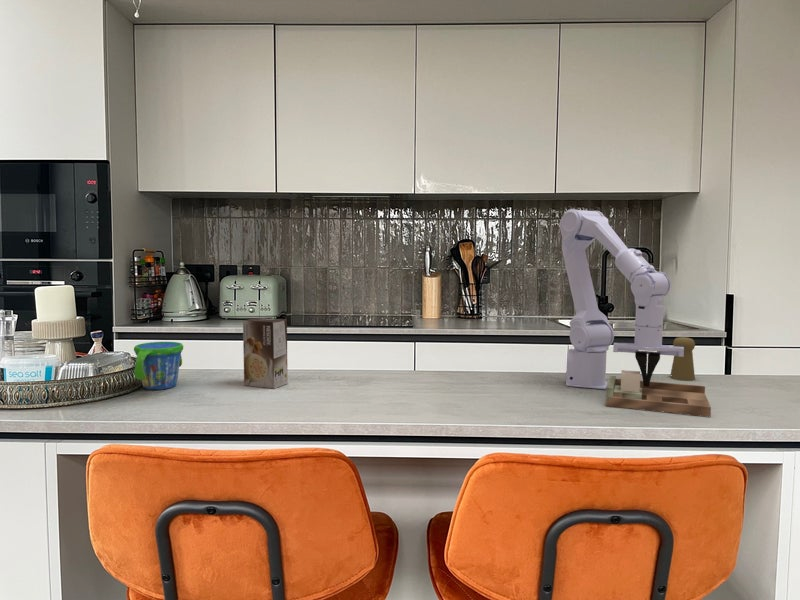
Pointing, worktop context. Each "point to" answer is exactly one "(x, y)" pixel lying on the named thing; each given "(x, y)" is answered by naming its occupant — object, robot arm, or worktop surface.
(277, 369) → the coffee box
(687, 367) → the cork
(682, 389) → the trap deck
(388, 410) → the worktop surface
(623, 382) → the cream block
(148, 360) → the snack cup
